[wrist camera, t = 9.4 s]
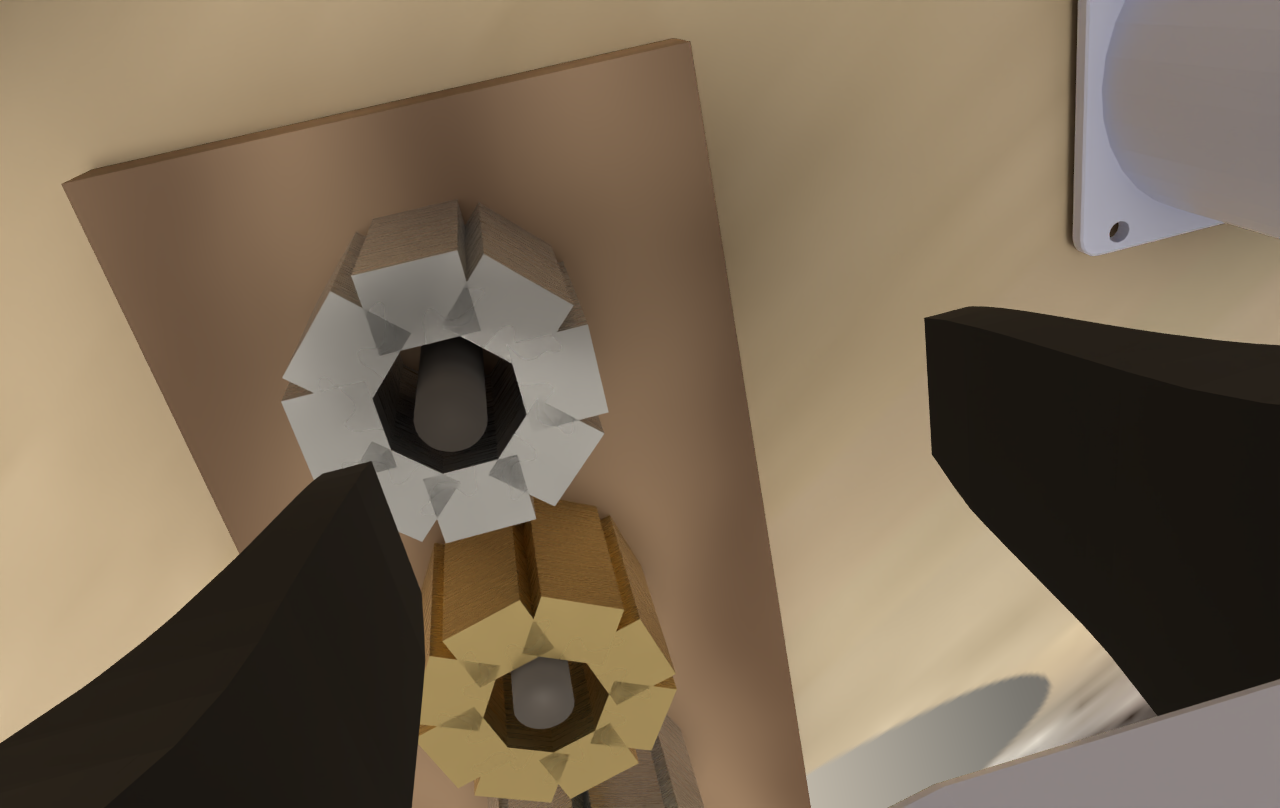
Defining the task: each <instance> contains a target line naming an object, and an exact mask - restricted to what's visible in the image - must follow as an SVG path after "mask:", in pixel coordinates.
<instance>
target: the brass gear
mask: <svg viewBox="0 0 1280 808" xmlns="http://www.w3.org/2000/svg"><path fill="white" fill-rule="evenodd" d="M533 500H534V507H535V513H536V519H535V520H531V521H528V522H524V523H520V524H516V525H513V526H509V527H505V528H501V529H498V530H494V531H490V532H486V533H483V534H479V535H475V536H472V537H468V538H464V539H460V540H457V541H453V542H449V543H445V545H444V544H438V543H434V546H433V549H432V553H431V556H430V560H429V564H428V567H427V571H426V574H425V578H424V582H423V585H422V589H421V592H422V605H423V620H424V638H425V673H424V685H423V696H422V707H421V718H420V729H419V739H418V744H419V746H420V747H421V748H422V749H423V750H424V751H425V752H426V753H427V754H428V756H429V757H430V758H431V759H432V760H433V761H434V762H435V763H436V764H437V766H438V767H439V768H440V769H441V770H442V771H443V772H444V773H445V774H446V776H447V777H448V778H449V779H450V780H451V781H452V782H453V783H454V784H455V786H456V787H457V788H460V787H462V786H464V785H466V784H467V783H469V782H471V781H473V780H474V796H484V797H495V798H506V799H516V800H527V801H538V802H549V803H551V802H552V800H553V797H554V794H555V792H556V789H557V786H558V784H559V785H560V787H561V788H562V789H563V790H564V791H565V793H566V794H567V795H568V796H569V798H570V799H571V798H573V797H575V796H577V795H579V794H581V793H583V792H585V791H587V790H588V789H590V788H592V787H594V786H596V785H598V784H600V783H602V782H604V781H606V780H608V779H610V778H611V777H613V776H615V775H617V774H619V773H621V772H623V771H625V770H627V769H629V768H631V767H633V766H634V765H636V764H638V763H639V761H638V757H637V753H636V749H643V750H652V748H653V745H654V743H655V741H656V738H657V736H658V734H659V731H660V729H661V726H662V724H663V722H664V719H665V717H666V714H667V712H668V710H669V707H670V705H671V702H672V700H673V698H674V695H675V693H676V690H677V688H676V685H675V682H674V679H673V675H675V674H676V673H675V670H674V666H673V663H672V660H671V657H670V654H669V651H668V648H667V645H666V642H665V638H664V635H663V632H662V629H661V626H660V623H659V620H658V617H657V613H656V610H655V607H654V604H653V601H652V598H651V595H650V592H649V589H648V585H647V582H646V579H645V576H644V573H643V570H642V567H641V564H640V563H639V561H638V559H637V558H636V556H635V555H634V553H633V551H632V550H631V548H630V547H629V545H628V543H627V542H626V540H625V539H624V537H623V535H622V534H621V532H620V531H619V529H618V527H617V526H616V524H615V523H614V521H613V519H612V518H611V516H610V515H609V516H607V517H605V518H603V519H601V520H600V518H599V514H598V511H597V507H596V506H592V505H587V504H581V503H576V502H571V501H566V500H561V499H560V500H559V501H558V503H557V504H556V505H555V506H553V505H551V504H548V503H546V502H544V501H542V500H540V499H538V498H536V497H534V496H533ZM539 656H540V657H547V658H554V659H561V660H568V665H569V671H570V678H571V684H572V690H573V696H574V708H573V710H572V713H571V714H570V715H569V717H568V718H567V719H566V720H565V721H563V722H562V723H560V724H558V725H556V726H554V727H551V728H546V729H535V728H530V727H527V726H525V725H523V724H522V723H521V722H519V721H518V719H517V718H516V716H515V714H514V708H513V695H512V682H511V671H513V670H514V669H516V668H518V667H520V666H522V665H524V664H526V663H528V662H530V661H531V660H533V659H535V658H537V657H539Z"/></svg>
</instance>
